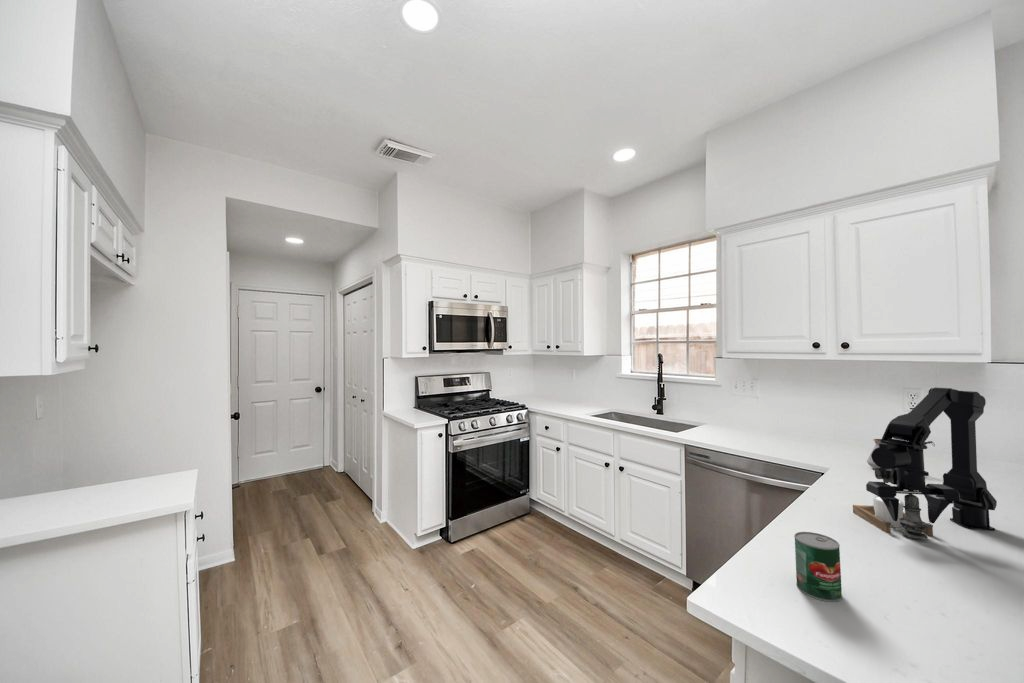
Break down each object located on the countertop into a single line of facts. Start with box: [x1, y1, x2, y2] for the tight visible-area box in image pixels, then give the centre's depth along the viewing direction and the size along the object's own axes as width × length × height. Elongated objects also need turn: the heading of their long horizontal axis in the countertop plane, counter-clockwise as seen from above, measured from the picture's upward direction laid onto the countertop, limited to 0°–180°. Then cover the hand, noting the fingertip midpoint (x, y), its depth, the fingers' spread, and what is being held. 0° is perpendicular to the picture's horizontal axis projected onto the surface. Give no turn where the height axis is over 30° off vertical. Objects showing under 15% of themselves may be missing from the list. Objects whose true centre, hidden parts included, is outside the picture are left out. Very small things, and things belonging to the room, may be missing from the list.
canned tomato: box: [793, 531, 843, 603], centre depth 85 cm, size 8×8×11 cm
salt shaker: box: [898, 494, 929, 540], centre depth 109 cm, size 6×6×12 cm
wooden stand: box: [852, 504, 934, 537], centre depth 117 cm, size 11×15×3 cm
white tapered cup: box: [871, 495, 905, 528], centre depth 118 cm, size 7×7×7 cm
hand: (913, 521), depth 109 cm, fingers closed on salt shaker, 8 cm apart
